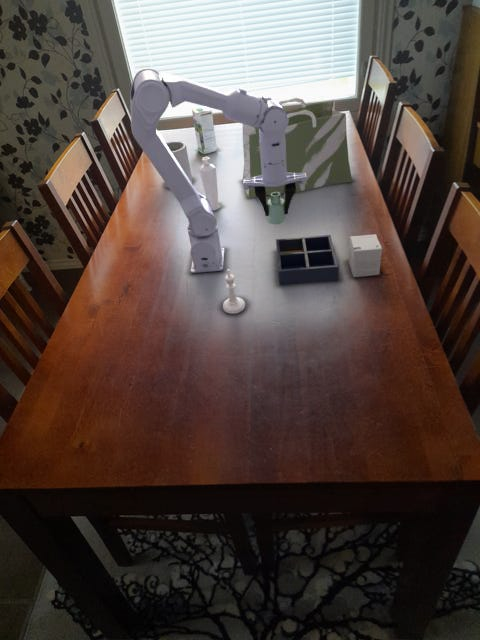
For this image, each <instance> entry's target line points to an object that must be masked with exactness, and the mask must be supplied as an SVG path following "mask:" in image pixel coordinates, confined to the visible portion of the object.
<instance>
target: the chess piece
mask: <svg viewBox="0 0 480 640" xmlns="http://www.w3.org/2000/svg"><path fill="white" fill-rule="evenodd" d="M226 271H227V274H226V275H225V277H224V279H225V281H226V283H227V284H226V285H225V289H227V290H228V292H229V293H228V298H226V299H225V300H224V301H223V303H222V310H223V311H224V312H225V313H227V314H233V315H234V314H238V313H241V312H243V310H244V309H245V308H246V303H245V301H244V299H243V298H241V297H239V296H237V295H236V292H235V289H236V288H237V285H236V283H234V282H235V276H234V275H233V274H231V269H230V268H227V270H226Z"/></svg>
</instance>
